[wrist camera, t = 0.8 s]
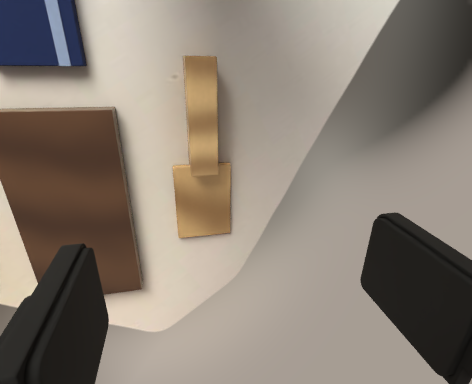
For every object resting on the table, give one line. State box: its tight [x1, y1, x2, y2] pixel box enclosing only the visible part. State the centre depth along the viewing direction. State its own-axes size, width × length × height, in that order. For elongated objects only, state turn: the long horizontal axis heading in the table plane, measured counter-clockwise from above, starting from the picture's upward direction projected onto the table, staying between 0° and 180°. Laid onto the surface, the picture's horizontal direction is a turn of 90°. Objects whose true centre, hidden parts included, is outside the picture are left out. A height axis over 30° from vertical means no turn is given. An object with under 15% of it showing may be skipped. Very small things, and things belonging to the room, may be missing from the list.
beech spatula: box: [173, 56, 231, 238], centre depth 33 cm, size 22×7×4 cm, turn 179°
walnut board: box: [0, 107, 143, 294], centre depth 34 cm, size 24×12×2 cm, turn 179°
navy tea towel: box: [0, 0, 86, 66], centre depth 26 cm, size 8×8×1 cm
